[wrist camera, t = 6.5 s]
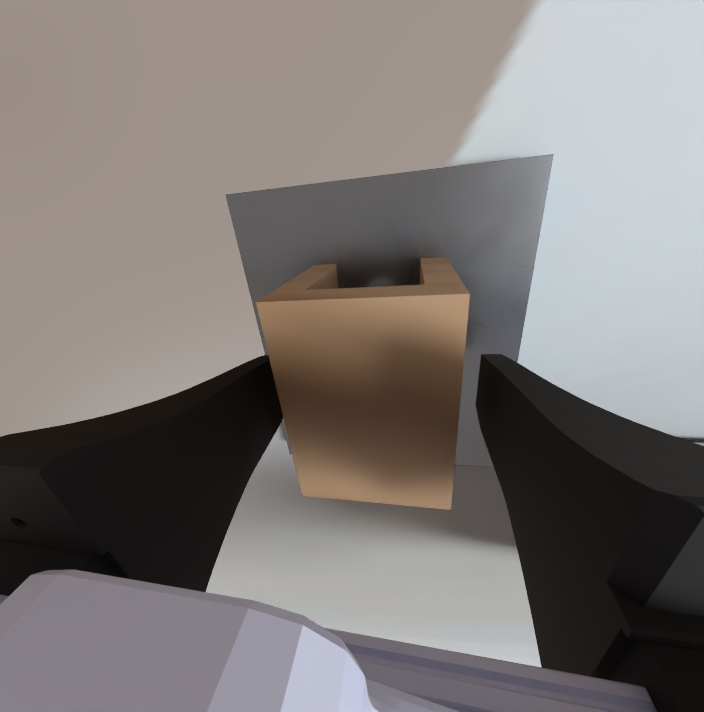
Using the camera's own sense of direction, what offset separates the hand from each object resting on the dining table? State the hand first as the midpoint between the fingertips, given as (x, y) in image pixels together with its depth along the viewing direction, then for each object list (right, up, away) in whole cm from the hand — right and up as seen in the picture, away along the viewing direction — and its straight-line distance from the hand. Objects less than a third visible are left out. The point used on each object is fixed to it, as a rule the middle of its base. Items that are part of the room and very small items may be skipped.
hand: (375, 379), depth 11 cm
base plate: (+1, +2, +3) cm, 3 cm away
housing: (0, +1, +2) cm, 2 cm away
